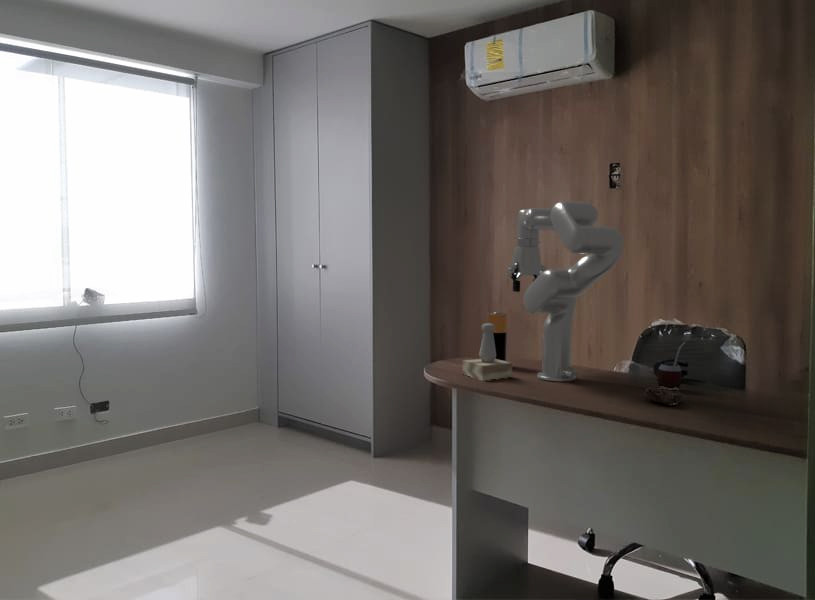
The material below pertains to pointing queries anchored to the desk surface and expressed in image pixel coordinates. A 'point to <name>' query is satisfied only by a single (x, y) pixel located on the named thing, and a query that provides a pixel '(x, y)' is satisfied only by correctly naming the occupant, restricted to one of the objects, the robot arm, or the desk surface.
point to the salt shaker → (488, 344)
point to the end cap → (672, 361)
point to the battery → (499, 333)
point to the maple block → (486, 369)
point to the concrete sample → (663, 395)
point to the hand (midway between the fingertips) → (526, 291)
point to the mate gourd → (670, 373)
